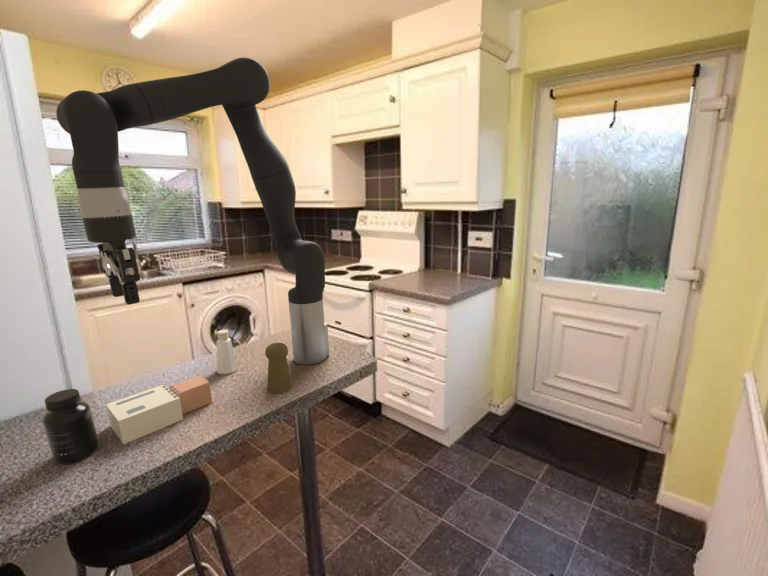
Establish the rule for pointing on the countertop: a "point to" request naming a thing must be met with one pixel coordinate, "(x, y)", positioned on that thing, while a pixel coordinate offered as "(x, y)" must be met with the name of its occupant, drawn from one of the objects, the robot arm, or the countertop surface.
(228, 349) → the salt shaker
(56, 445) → the supplement bottle
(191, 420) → the countertop surface
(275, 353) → the brown pawn
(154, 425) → the cream box
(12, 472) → the countertop surface
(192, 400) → the orange box
